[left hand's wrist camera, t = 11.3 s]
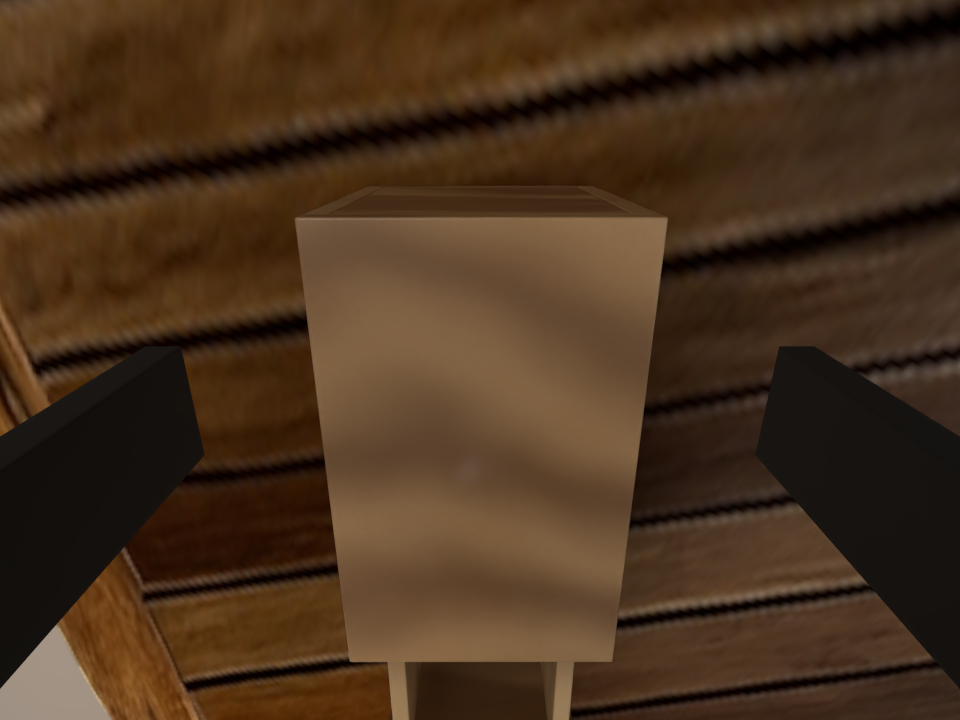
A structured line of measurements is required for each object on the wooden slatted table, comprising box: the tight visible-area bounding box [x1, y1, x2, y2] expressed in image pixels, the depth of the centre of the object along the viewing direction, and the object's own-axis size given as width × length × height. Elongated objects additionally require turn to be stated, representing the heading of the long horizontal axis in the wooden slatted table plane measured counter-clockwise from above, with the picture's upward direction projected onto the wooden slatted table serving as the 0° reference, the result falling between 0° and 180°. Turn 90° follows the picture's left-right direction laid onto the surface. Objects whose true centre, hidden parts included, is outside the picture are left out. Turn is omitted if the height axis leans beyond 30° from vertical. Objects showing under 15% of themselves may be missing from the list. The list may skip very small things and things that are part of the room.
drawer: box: [388, 662, 574, 720], centre depth 30 cm, size 23×10×10 cm, turn 0°
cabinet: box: [295, 186, 668, 662], centre depth 25 cm, size 18×11×12 cm, turn 0°
